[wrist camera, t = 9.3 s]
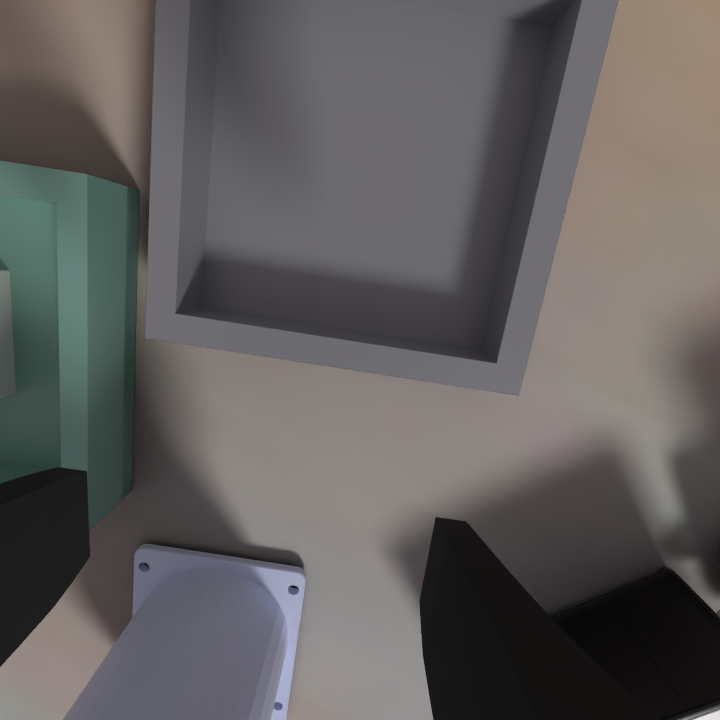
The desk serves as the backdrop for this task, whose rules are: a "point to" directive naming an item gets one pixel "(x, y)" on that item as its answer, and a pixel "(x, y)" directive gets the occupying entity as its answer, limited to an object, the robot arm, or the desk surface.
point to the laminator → (654, 645)
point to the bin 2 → (366, 178)
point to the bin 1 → (70, 327)
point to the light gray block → (6, 338)
